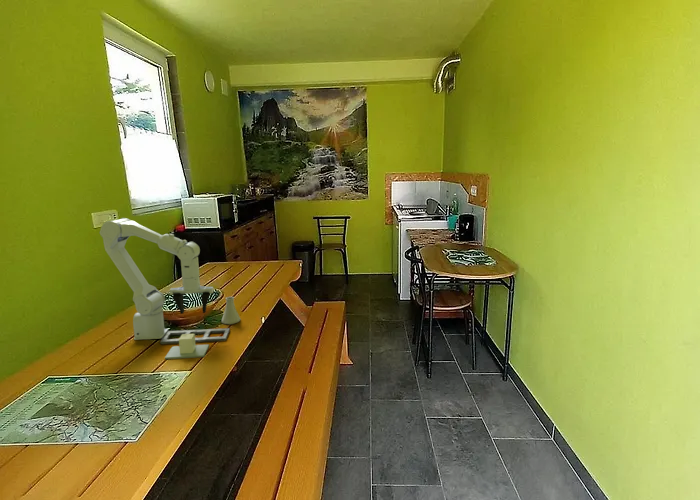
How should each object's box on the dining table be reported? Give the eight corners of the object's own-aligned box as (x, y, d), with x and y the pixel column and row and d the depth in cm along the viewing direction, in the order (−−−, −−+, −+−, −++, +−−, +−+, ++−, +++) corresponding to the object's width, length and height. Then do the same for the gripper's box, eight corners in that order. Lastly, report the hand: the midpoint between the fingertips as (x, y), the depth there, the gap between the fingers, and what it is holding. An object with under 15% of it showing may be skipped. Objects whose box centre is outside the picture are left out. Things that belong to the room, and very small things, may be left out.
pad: (165, 359, 120) (164, 357, 120) (172, 348, 128) (172, 346, 128) (204, 356, 122) (203, 355, 122) (209, 346, 130) (209, 344, 130)
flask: (217, 322, 150) (216, 299, 148) (230, 316, 157) (229, 294, 155) (231, 326, 147) (229, 301, 145) (244, 320, 153) (243, 296, 151)
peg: (179, 353, 123) (178, 339, 122) (183, 348, 127) (182, 334, 126) (192, 352, 124) (191, 338, 123) (195, 347, 128) (194, 333, 127)
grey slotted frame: (160, 344, 131) (160, 341, 131) (168, 333, 140) (168, 331, 139) (225, 340, 134) (225, 338, 134) (229, 330, 143) (229, 328, 143)
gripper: (165, 280, 129) (169, 317, 132) (209, 278, 131) (211, 315, 134) (172, 274, 136) (175, 310, 139) (213, 273, 138) (215, 308, 141)
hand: (193, 312), depth 137 cm, fingers open, 7 cm apart
